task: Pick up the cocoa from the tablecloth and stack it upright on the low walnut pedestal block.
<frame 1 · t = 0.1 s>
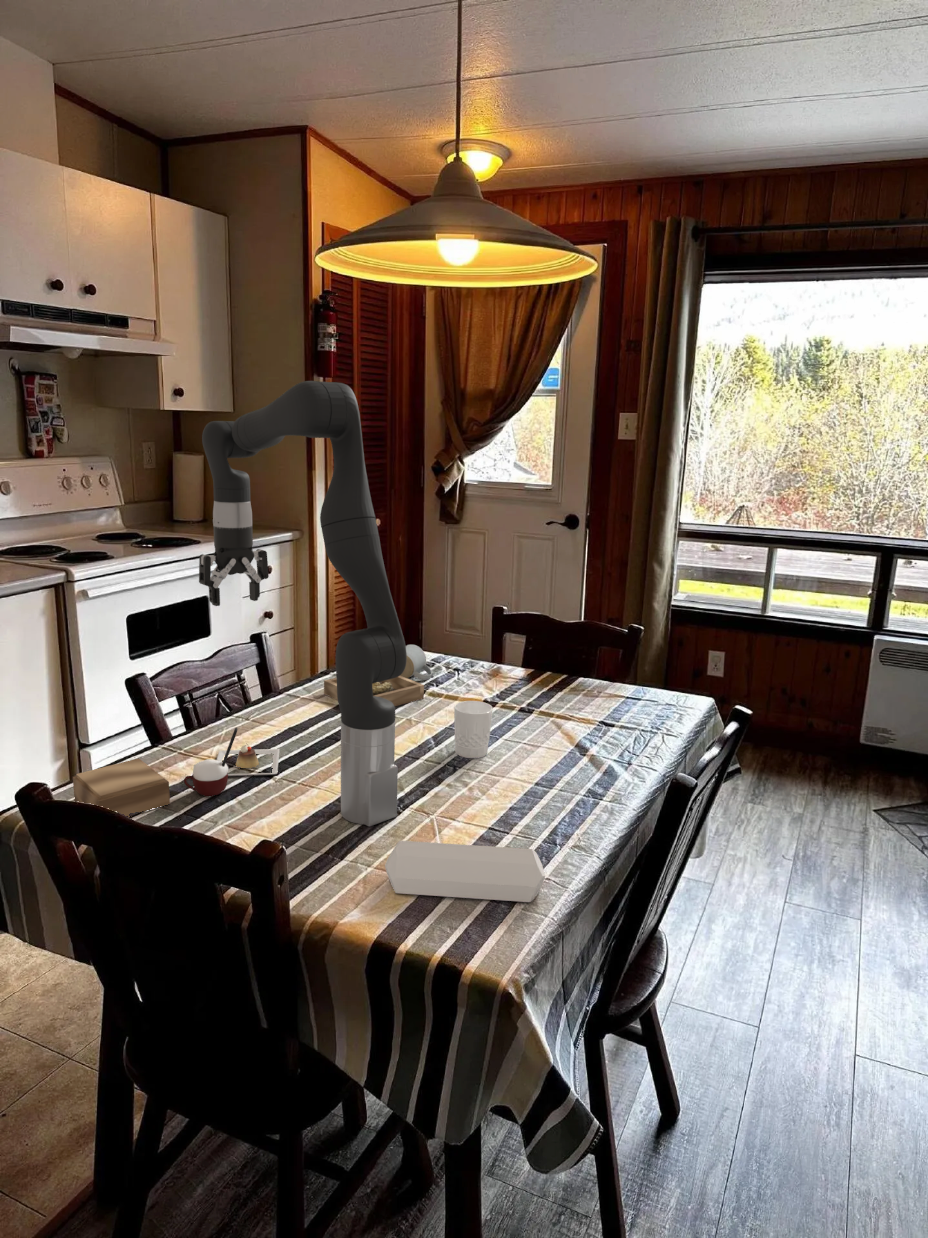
hand: (235, 602, 172), 29 cm above the table, tool pointing down, fingers open, 8 cm apart
white cup: (471, 753, 175), on the table
dessert: (247, 767, 165), on the table
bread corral: (373, 696, 206), on the table
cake: (374, 698, 207), resting in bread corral
crystal: (463, 889, 126), on the table
walnut pedestal: (122, 802, 148), on the table
cocoa: (212, 793, 153), on the table
ceramic mug: (412, 676, 224), on the table
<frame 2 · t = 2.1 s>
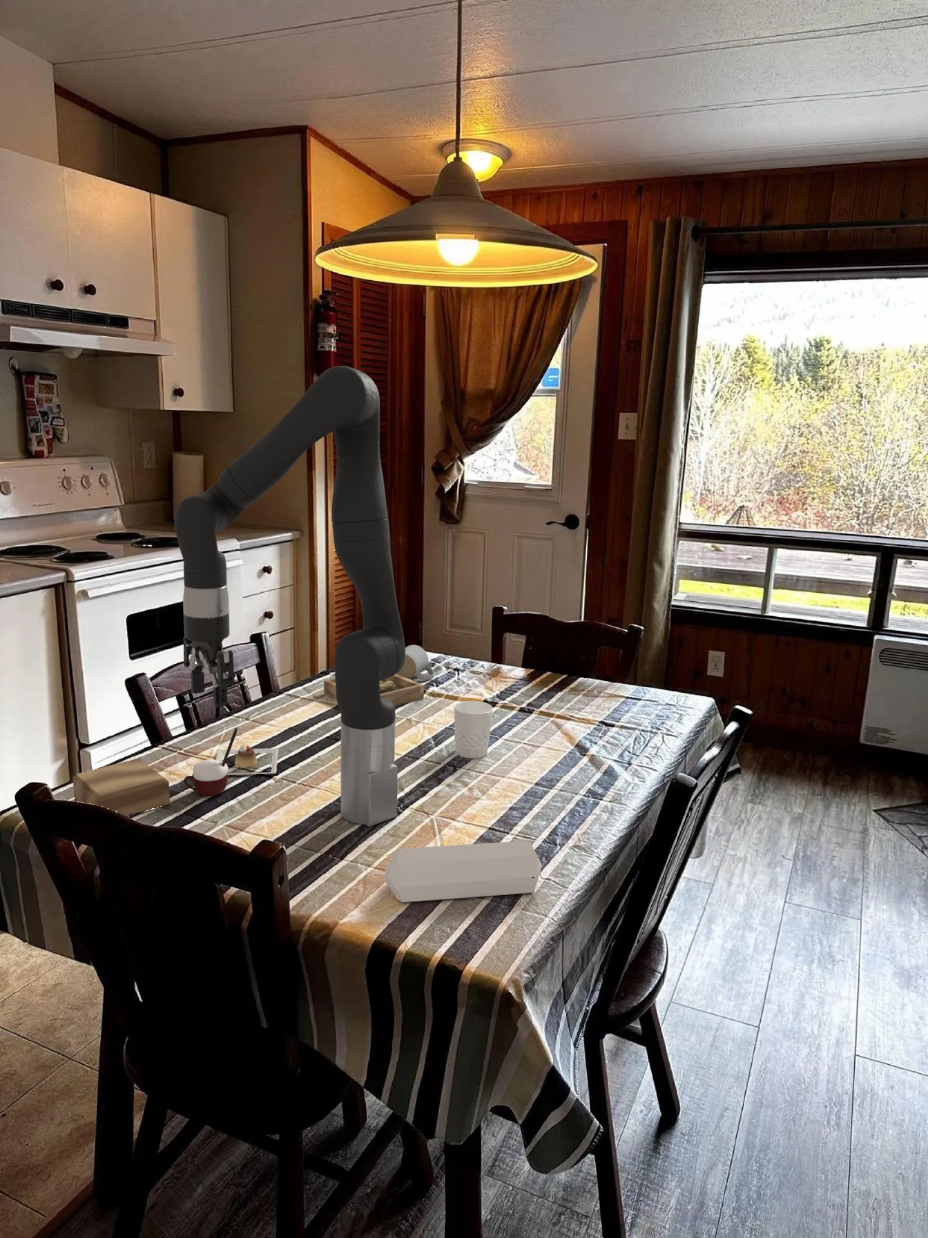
hand: (209, 699, 149), 18 cm above the table, tool pointing down, fingers open, 8 cm apart
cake: (376, 696, 208), resting in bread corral
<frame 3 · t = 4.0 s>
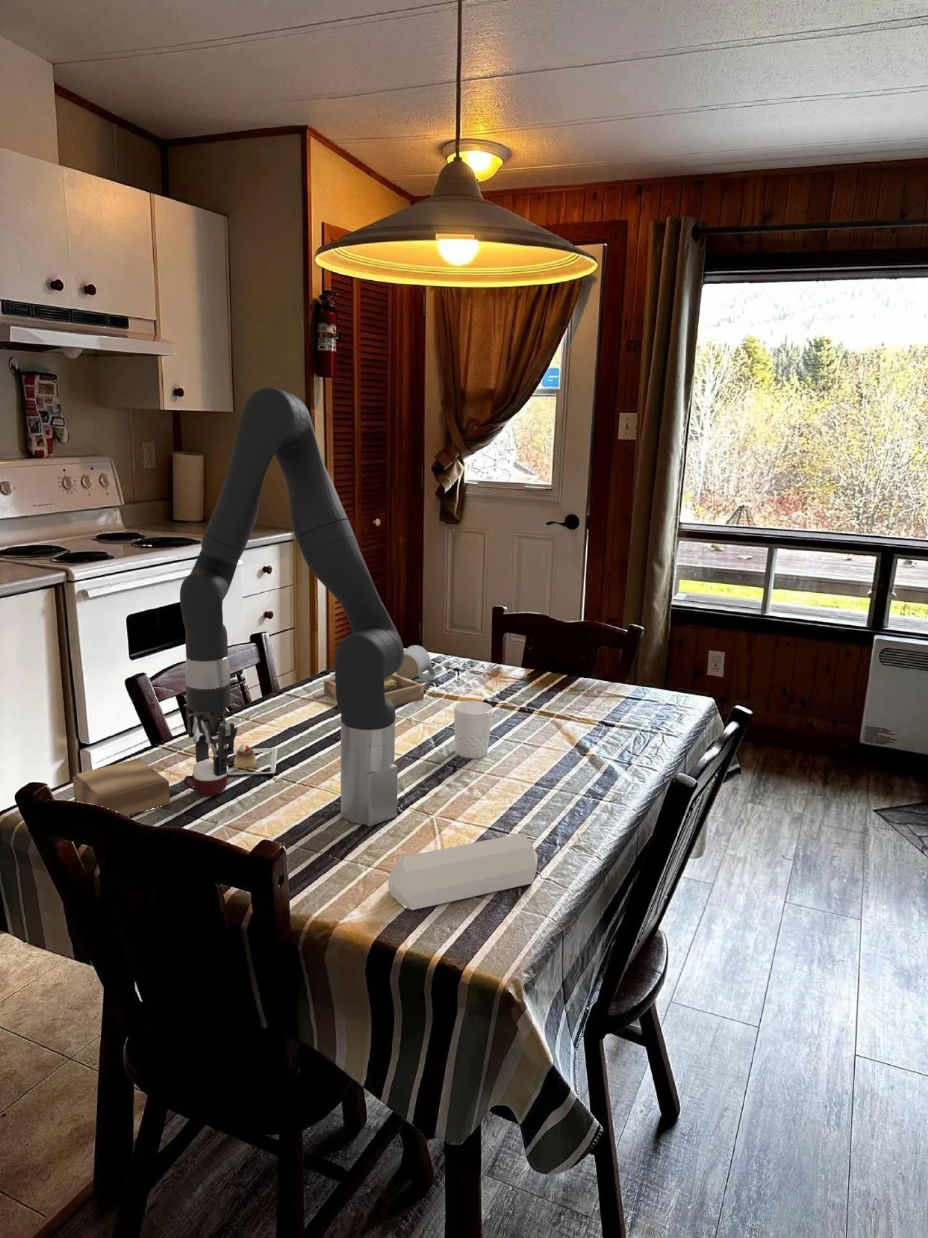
hand: (211, 768, 152), 5 cm above the table, tool pointing down, fingers closed on cocoa, 6 cm apart
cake: (378, 695, 209), resting in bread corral
cocoa: (212, 793, 153), on the table, touching gripper
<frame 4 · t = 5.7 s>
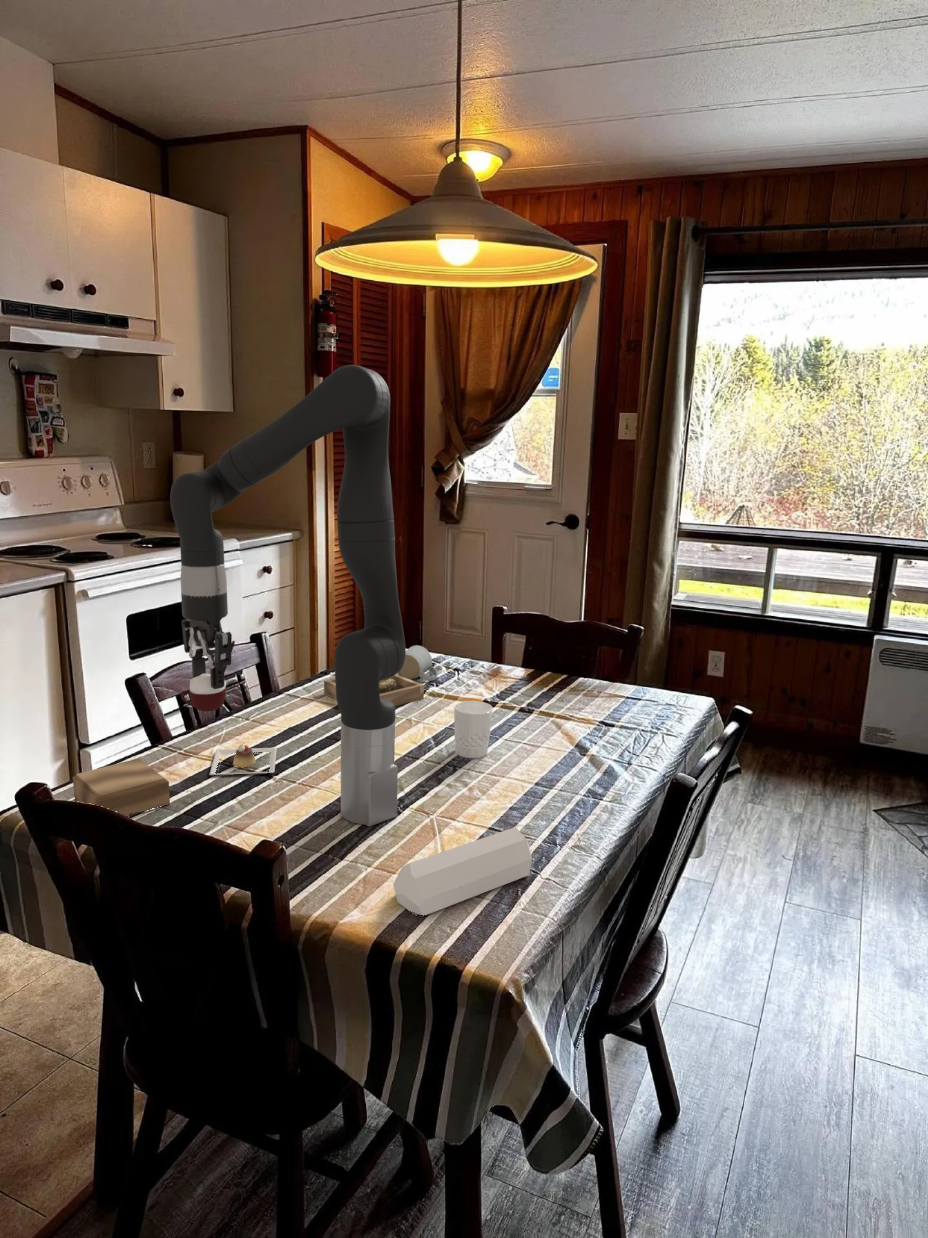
hand: (208, 682, 148), 21 cm above the table, tool pointing down, fingers closed on cocoa, 6 cm apart
cocoa: (209, 709, 149), point 16 cm above the table, touching gripper
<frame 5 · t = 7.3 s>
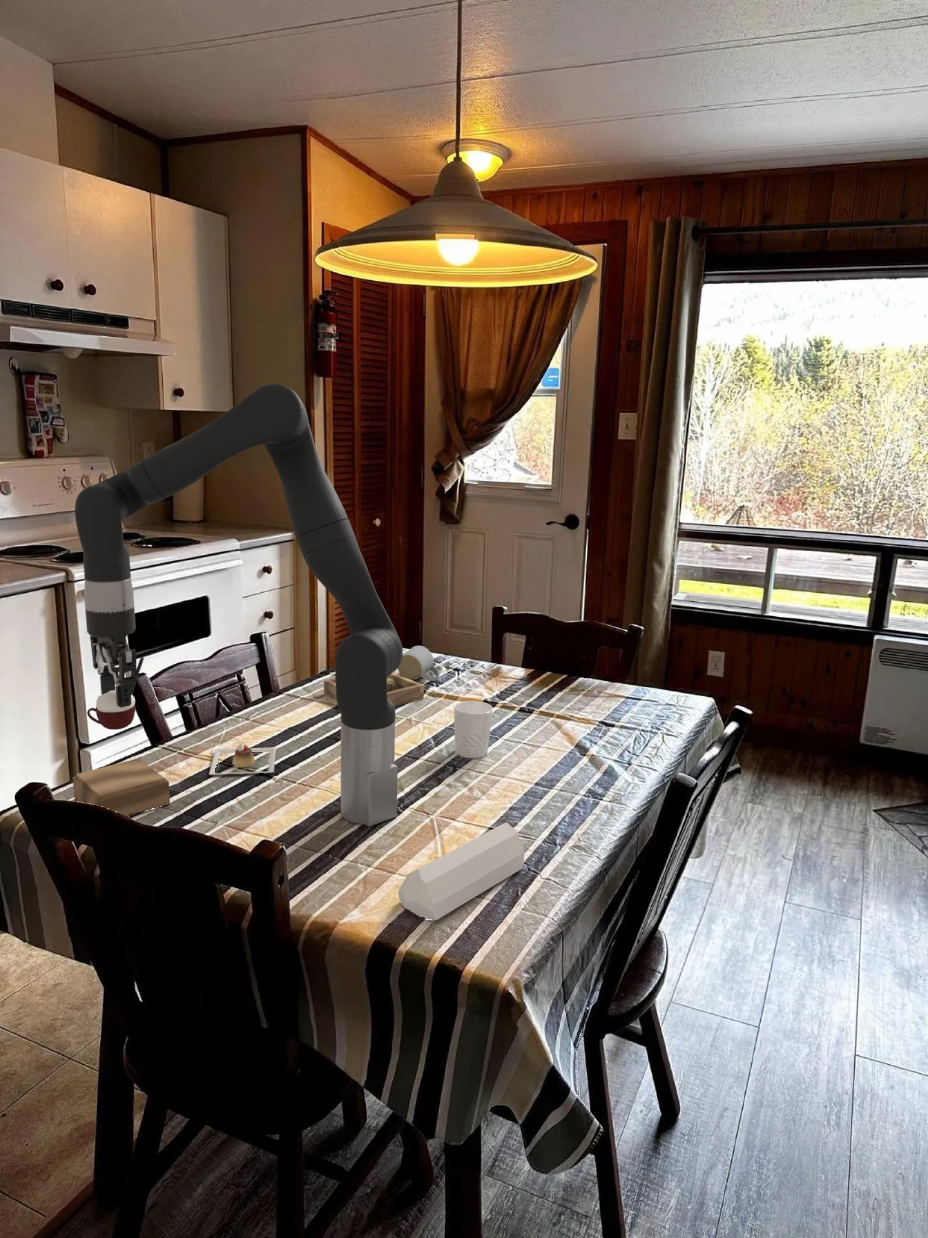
hand: (116, 700, 143), 19 cm above the table, tool pointing down, fingers closed on cocoa, 6 cm apart
cocoa: (118, 727, 144), point 14 cm above the table, touching gripper
when the fingers open (11 cm above the table, at t = 9.6 s): cocoa drops 1 cm, resting on walnut pedestal.
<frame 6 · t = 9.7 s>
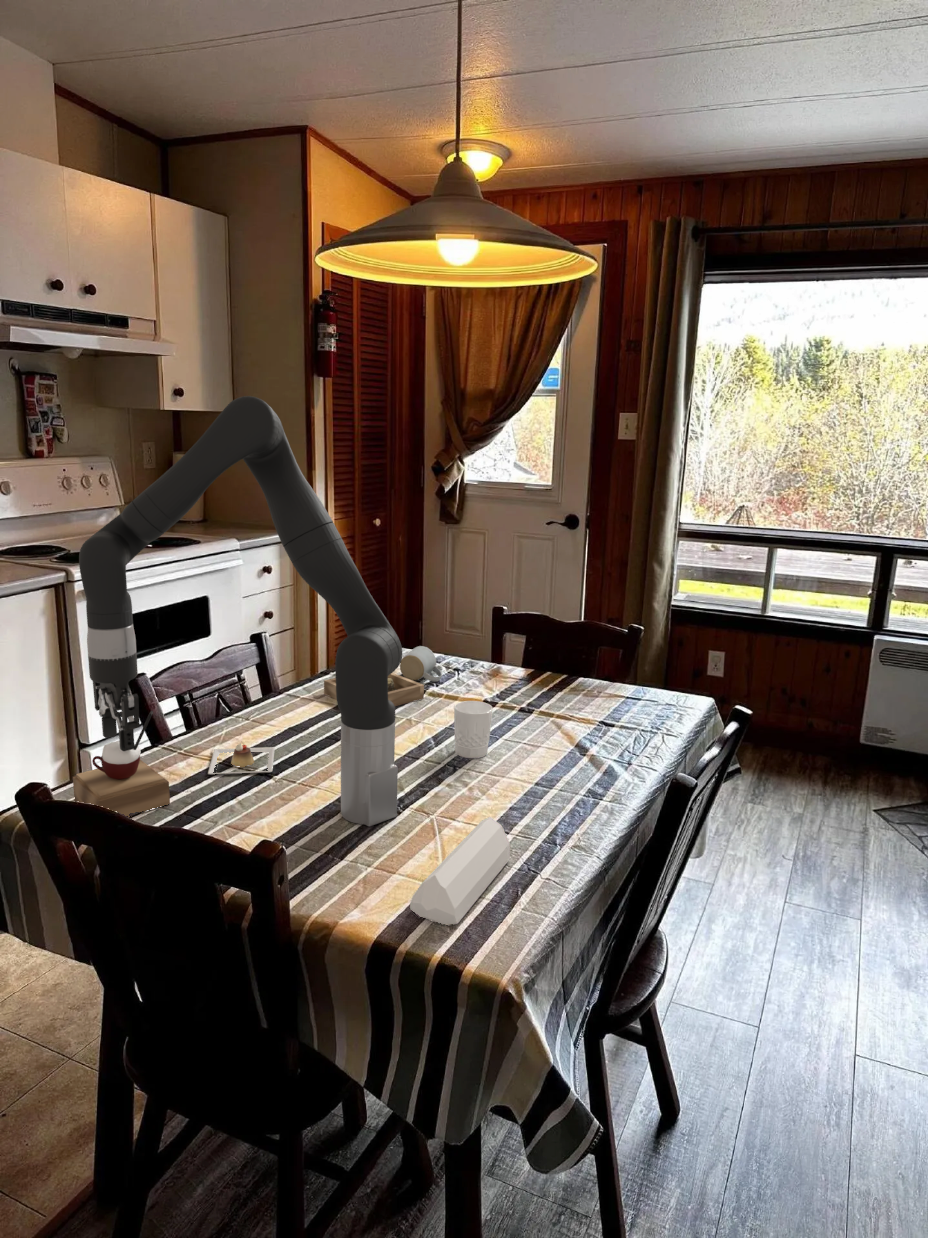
hand: (118, 742, 145), 11 cm above the table, tool pointing down, fingers open, 7 cm apart
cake: (375, 693, 210), resting in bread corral
cocoa: (121, 776, 146), point 5 cm above the table, touching walnut pedestal
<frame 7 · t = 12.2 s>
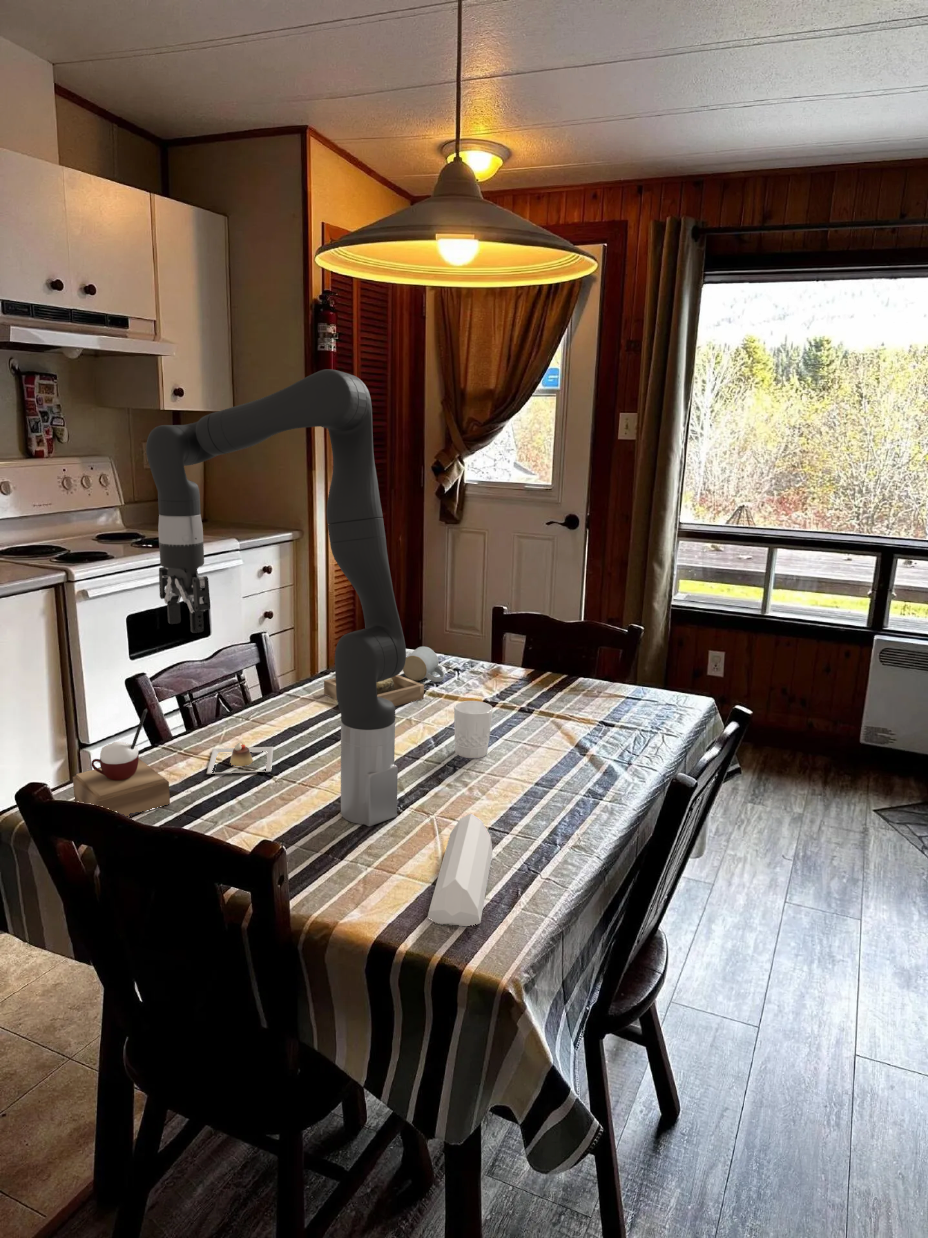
hand: (185, 627, 154), 29 cm above the table, tool pointing down, fingers open, 8 cm apart
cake: (375, 693, 210), resting in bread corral
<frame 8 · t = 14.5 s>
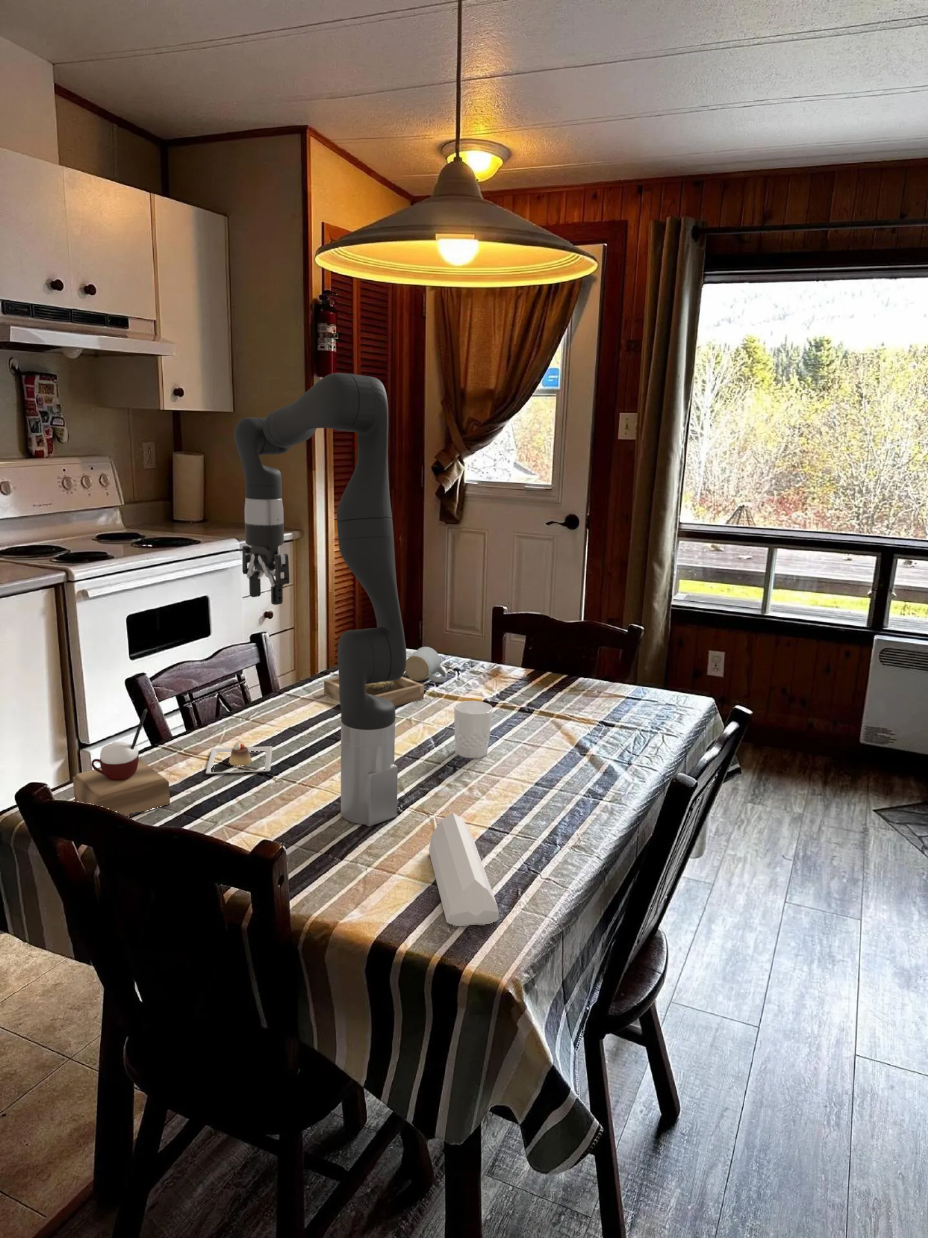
hand: (265, 600, 171), 30 cm above the table, tool pointing down, fingers open, 8 cm apart
at the end: cocoa 0.3 cm from the walnut pedestal (horizontally); cocoa point 4.8 cm above the table; cocoa tilted 0° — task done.
